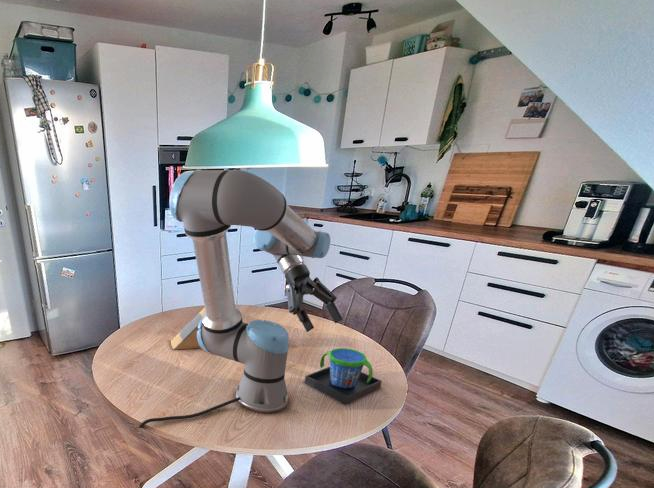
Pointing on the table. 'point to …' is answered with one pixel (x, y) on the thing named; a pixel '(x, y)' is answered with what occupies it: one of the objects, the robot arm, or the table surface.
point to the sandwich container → (188, 334)
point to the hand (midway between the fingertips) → (325, 325)
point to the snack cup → (346, 367)
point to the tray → (345, 396)
